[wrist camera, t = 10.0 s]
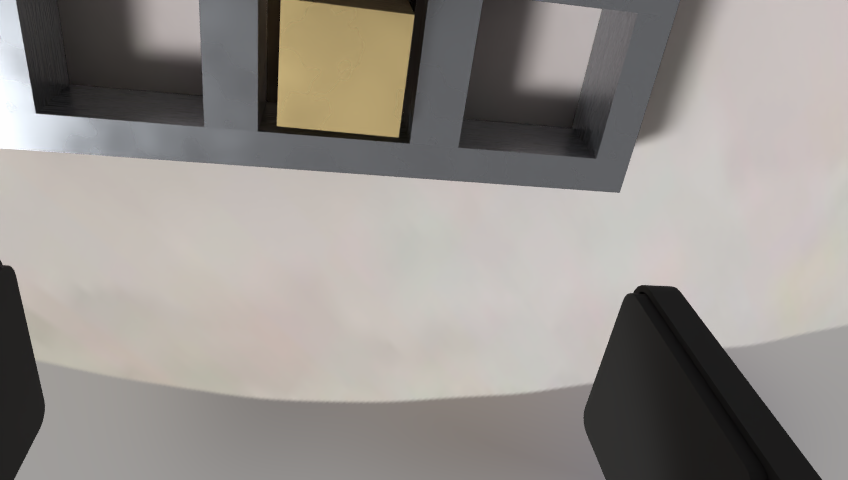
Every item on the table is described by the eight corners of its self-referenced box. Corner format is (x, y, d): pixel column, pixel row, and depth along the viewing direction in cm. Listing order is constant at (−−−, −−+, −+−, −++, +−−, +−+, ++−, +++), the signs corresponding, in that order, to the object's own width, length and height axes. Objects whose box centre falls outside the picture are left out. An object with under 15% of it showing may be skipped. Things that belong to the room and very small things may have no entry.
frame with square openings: (-7, -127, 23) (-58, -123, 20) (649, -39, 27) (687, -25, 24) (36, 115, 28) (-1, 147, 25) (593, 160, 32) (619, 192, 29)
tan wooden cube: (289, -25, 26) (280, -2, 22) (404, -10, 27) (414, 14, 23) (285, 87, 28) (276, 126, 24) (391, 98, 29) (398, 137, 25)
